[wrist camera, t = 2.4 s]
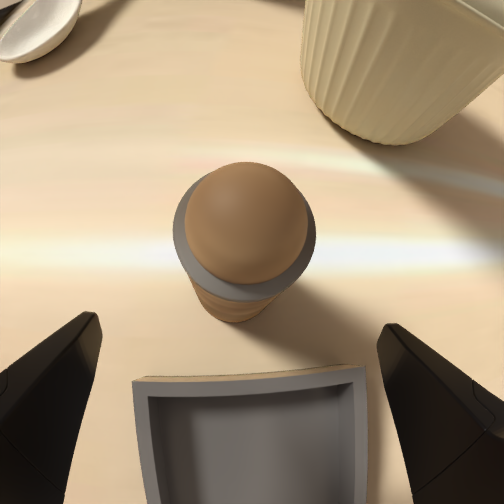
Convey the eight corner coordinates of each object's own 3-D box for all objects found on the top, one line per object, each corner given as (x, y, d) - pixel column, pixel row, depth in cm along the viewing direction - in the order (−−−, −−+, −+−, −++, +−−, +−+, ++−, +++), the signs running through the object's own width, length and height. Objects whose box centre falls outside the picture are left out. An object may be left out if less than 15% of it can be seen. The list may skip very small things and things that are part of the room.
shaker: (274, 321, 20) (350, 280, 8) (196, 324, 20) (158, 289, 8) (269, 247, 22) (323, 128, 10) (194, 249, 21) (166, 127, 9)
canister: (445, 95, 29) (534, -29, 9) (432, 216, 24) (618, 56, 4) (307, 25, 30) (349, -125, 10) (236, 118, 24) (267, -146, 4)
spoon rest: (49, 77, 25) (27, 30, 18) (-9, 79, 25) (-31, 42, 18) (146, -20, 32) (142, -57, 26) (86, -16, 32) (79, -48, 25)
